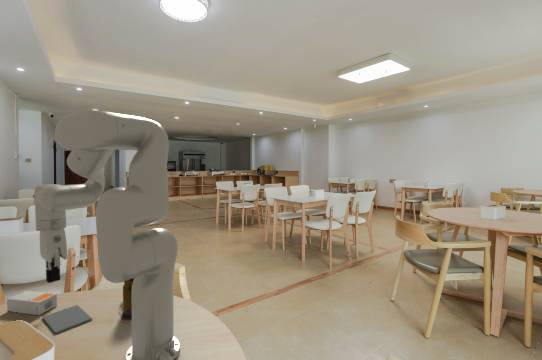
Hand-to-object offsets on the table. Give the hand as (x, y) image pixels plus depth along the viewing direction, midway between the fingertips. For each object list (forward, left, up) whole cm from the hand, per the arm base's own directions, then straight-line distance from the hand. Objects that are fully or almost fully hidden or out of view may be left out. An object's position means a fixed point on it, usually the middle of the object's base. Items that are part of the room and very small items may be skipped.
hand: (53, 280), depth 89 cm
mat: (-10, -1, -9) cm, 13 cm away
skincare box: (0, +1, -7) cm, 7 cm away
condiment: (-21, -15, -10) cm, 28 cm away
